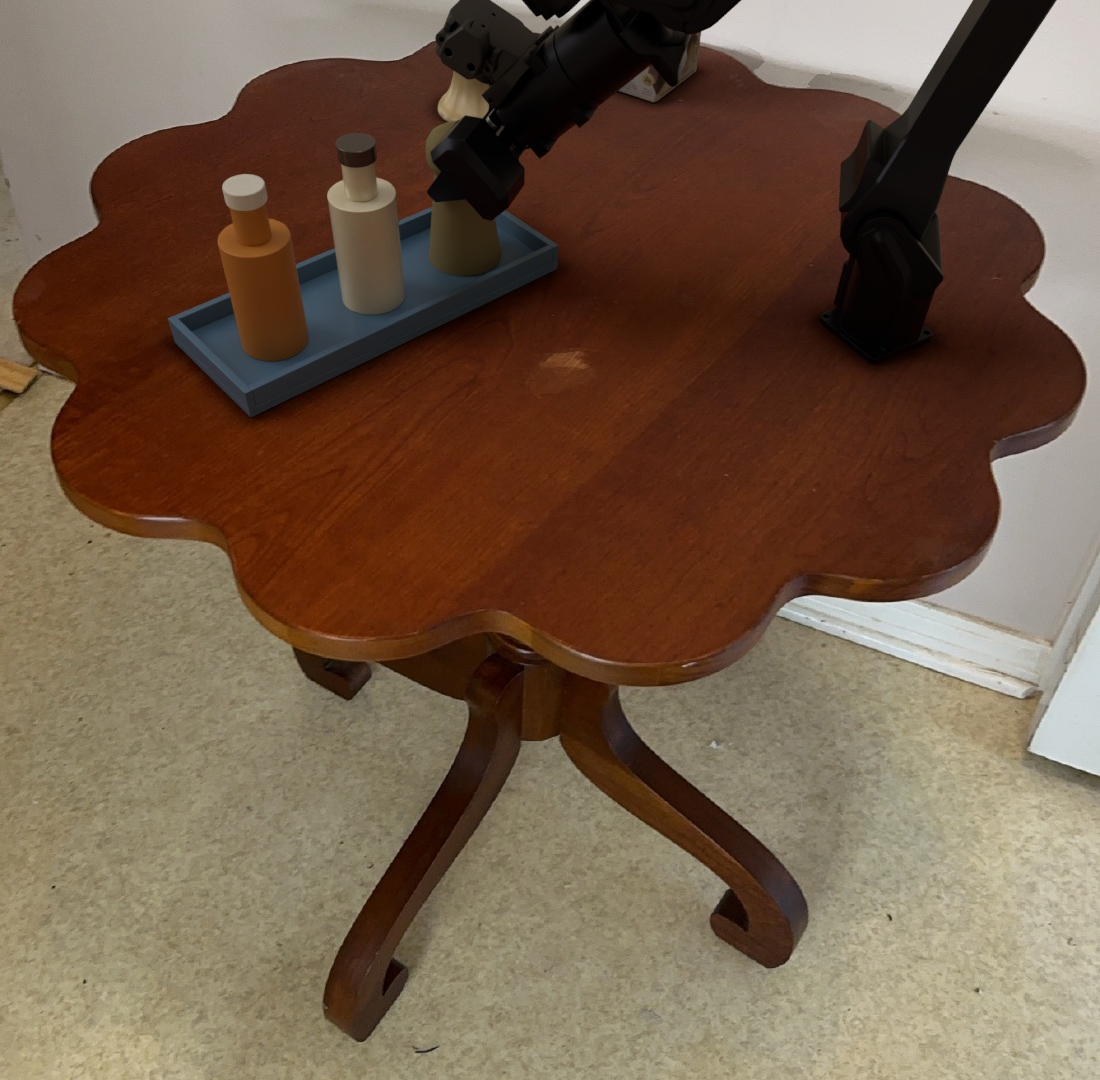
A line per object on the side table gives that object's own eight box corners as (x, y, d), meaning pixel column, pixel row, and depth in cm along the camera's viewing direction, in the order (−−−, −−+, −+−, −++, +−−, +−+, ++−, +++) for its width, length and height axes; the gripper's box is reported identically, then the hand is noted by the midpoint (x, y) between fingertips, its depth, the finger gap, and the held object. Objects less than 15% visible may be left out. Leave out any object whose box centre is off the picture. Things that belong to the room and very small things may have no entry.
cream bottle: (416, 303, 86) (403, 149, 77) (357, 322, 84) (337, 167, 75) (388, 271, 89) (373, 119, 79) (331, 288, 87) (308, 135, 78)
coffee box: (657, 105, 111) (673, -67, 99) (602, 87, 113) (612, -83, 101) (699, 71, 116) (719, -96, 104) (646, 56, 118) (660, -110, 106)
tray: (474, 212, 97) (473, 188, 95) (557, 269, 91) (558, 245, 89) (174, 342, 84) (167, 318, 82) (250, 418, 78) (244, 393, 76)
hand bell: (459, 136, 106) (452, -39, 94) (424, 100, 110) (412, -71, 99) (535, 118, 108) (537, -55, 97) (497, 83, 113) (494, -85, 101)
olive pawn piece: (514, 262, 90) (512, 136, 82) (449, 284, 88) (440, 157, 80) (479, 227, 94) (474, 103, 85) (416, 247, 91) (404, 122, 83)
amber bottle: (319, 348, 82) (292, 192, 73) (256, 369, 80) (220, 212, 71) (293, 313, 85) (265, 158, 75) (232, 333, 83) (194, 176, 74)
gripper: (551, -83, 79) (420, 47, 89) (451, 20, 67) (314, 155, 77) (647, 45, 83) (511, 154, 93) (570, 163, 71) (424, 273, 81)
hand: (444, 179), depth 86 cm, fingers closed on olive pawn piece, 5 cm apart
